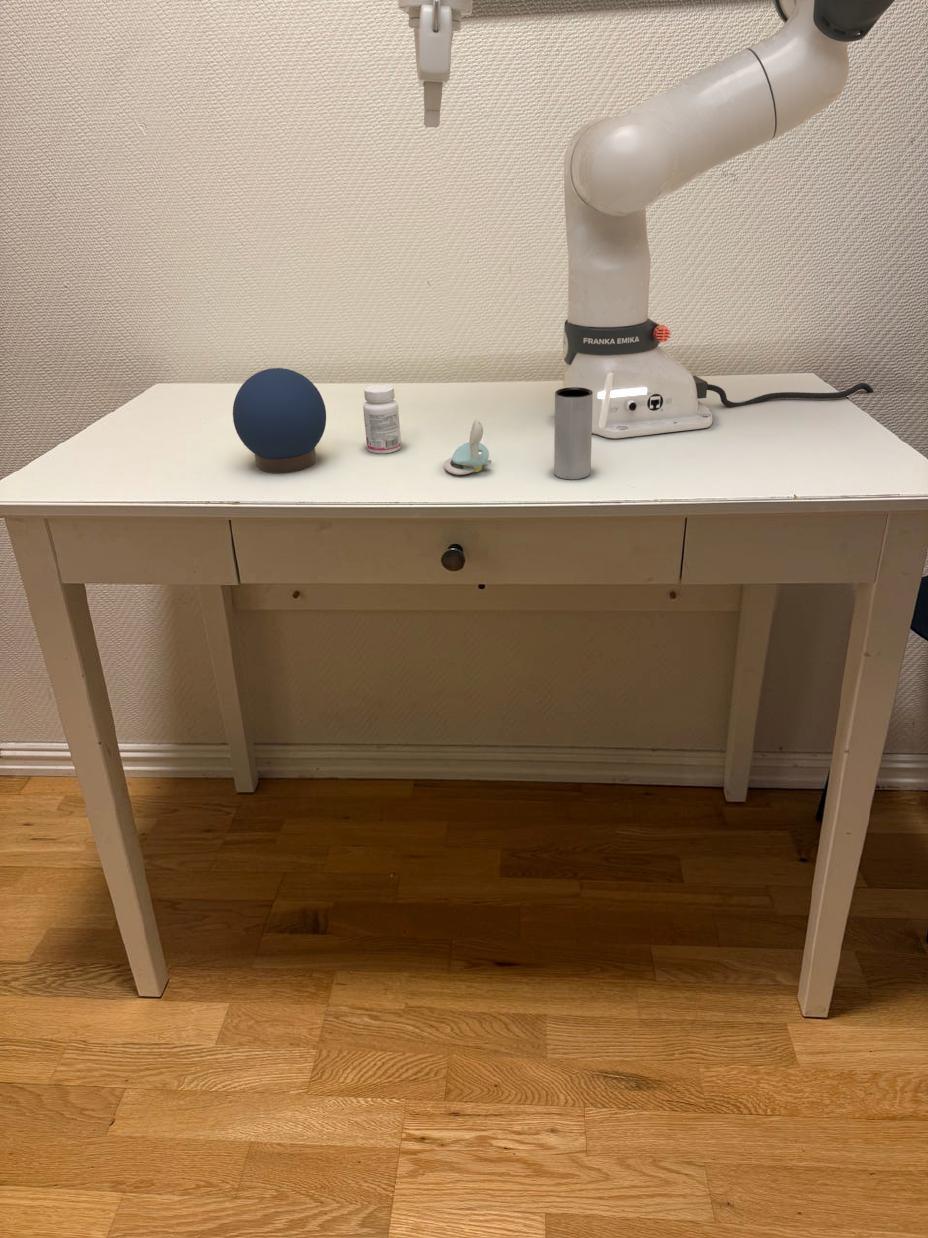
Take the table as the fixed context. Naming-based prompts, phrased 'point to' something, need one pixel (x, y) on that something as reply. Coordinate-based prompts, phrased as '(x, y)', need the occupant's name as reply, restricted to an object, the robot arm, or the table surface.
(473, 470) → the pacifier
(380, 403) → the pill bottle
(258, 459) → the ball stand
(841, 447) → the table surface
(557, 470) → the grey cylinder
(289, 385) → the ball
